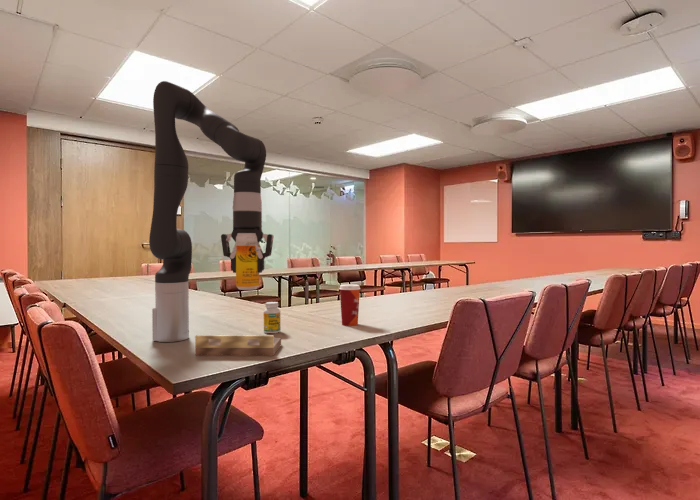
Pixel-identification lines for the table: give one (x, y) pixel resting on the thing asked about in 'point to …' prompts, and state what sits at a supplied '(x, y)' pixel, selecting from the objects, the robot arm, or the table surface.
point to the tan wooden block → (236, 345)
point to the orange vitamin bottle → (246, 261)
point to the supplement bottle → (272, 318)
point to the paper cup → (349, 304)
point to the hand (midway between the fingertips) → (247, 272)
